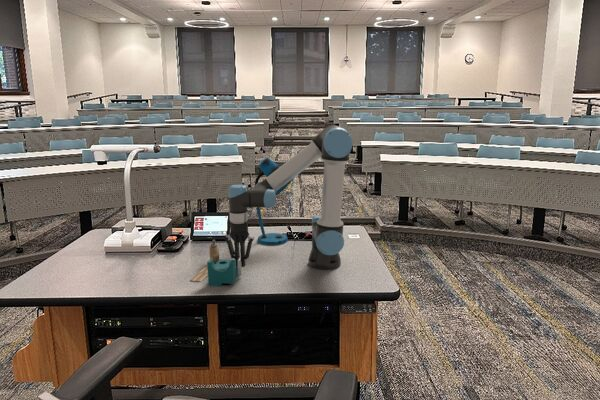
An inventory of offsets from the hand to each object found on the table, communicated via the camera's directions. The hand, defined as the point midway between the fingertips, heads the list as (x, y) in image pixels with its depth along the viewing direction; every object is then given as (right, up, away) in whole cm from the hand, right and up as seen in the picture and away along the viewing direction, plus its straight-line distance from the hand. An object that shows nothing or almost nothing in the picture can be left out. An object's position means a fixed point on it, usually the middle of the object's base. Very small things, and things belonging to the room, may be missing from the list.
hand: (240, 273), depth 211 cm
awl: (-15, +2, +19) cm, 24 cm away
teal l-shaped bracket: (-6, -2, +1) cm, 7 cm away
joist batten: (-17, -1, +4) cm, 18 cm away
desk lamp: (+13, +10, +50) cm, 53 cm away
